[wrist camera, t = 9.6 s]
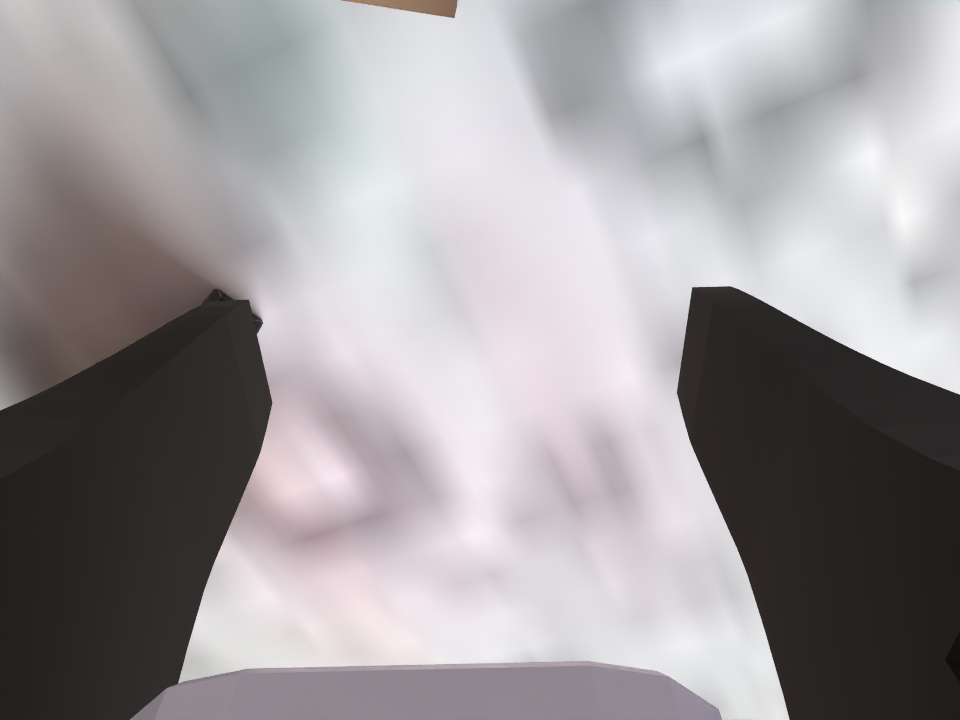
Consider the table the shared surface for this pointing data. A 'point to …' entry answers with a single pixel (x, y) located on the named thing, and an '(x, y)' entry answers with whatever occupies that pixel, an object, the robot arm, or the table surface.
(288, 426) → the table surface
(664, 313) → the table surface
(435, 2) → the rail
